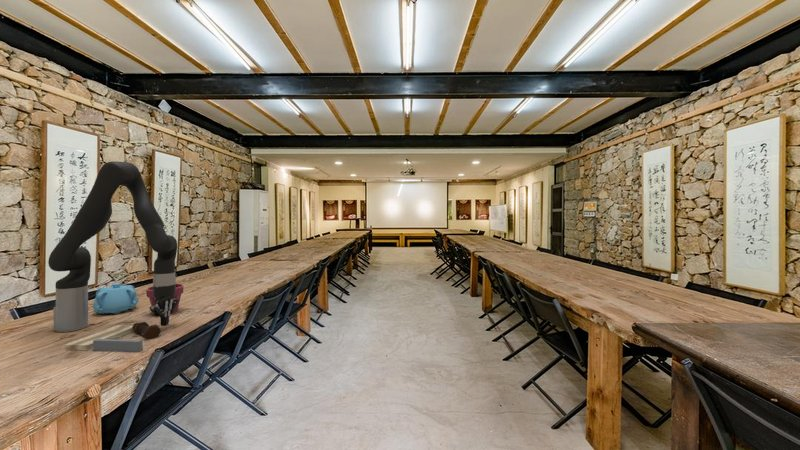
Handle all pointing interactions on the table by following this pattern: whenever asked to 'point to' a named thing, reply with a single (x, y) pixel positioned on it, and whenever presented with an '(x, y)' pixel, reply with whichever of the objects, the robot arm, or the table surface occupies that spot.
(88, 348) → the birch board
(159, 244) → the robot arm
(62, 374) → the table surface
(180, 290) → the plant pot
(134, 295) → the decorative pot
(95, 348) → the bar
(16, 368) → the table surface
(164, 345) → the table surface
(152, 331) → the brown dumbbell
